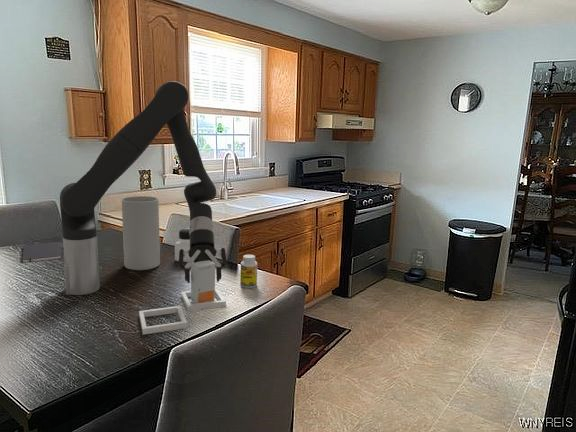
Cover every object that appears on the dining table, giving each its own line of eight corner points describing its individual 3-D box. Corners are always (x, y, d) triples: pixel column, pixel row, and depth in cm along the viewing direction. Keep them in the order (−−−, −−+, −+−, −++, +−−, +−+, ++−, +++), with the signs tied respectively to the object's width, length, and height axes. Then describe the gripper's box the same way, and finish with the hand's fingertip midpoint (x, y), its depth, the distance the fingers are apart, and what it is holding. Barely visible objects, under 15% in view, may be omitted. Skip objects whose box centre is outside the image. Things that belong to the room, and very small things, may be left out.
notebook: (61, 259, 158) (59, 245, 176) (61, 255, 158) (59, 241, 176) (22, 263, 152) (24, 248, 170) (22, 259, 151) (23, 245, 169)
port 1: (142, 334, 103) (142, 329, 103) (138, 313, 115) (138, 308, 115) (187, 327, 108) (187, 322, 107) (179, 307, 119) (179, 302, 119)
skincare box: (196, 305, 121) (196, 266, 119) (190, 300, 124) (190, 262, 122) (215, 301, 125) (215, 263, 122) (209, 296, 128) (209, 259, 126)
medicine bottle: (191, 262, 159) (191, 232, 157) (174, 260, 161) (174, 230, 158) (199, 257, 166) (199, 228, 164) (182, 255, 167) (182, 226, 165)
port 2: (188, 311, 117) (188, 306, 117) (180, 294, 129) (180, 289, 129) (225, 305, 122) (225, 301, 122) (215, 290, 133) (215, 285, 133)
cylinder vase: (116, 267, 150) (113, 199, 145) (140, 258, 162) (138, 195, 157) (144, 273, 146) (142, 203, 141) (167, 263, 157) (165, 198, 152)
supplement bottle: (237, 287, 137) (237, 257, 135) (244, 281, 142) (244, 252, 140) (253, 289, 135) (253, 259, 133) (259, 283, 140) (260, 254, 138)
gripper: (178, 228, 126) (178, 277, 118) (225, 227, 130) (228, 274, 121) (178, 240, 132) (178, 287, 124) (223, 239, 136) (226, 285, 127)
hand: (203, 281), depth 122 cm, fingers open, 8 cm apart
